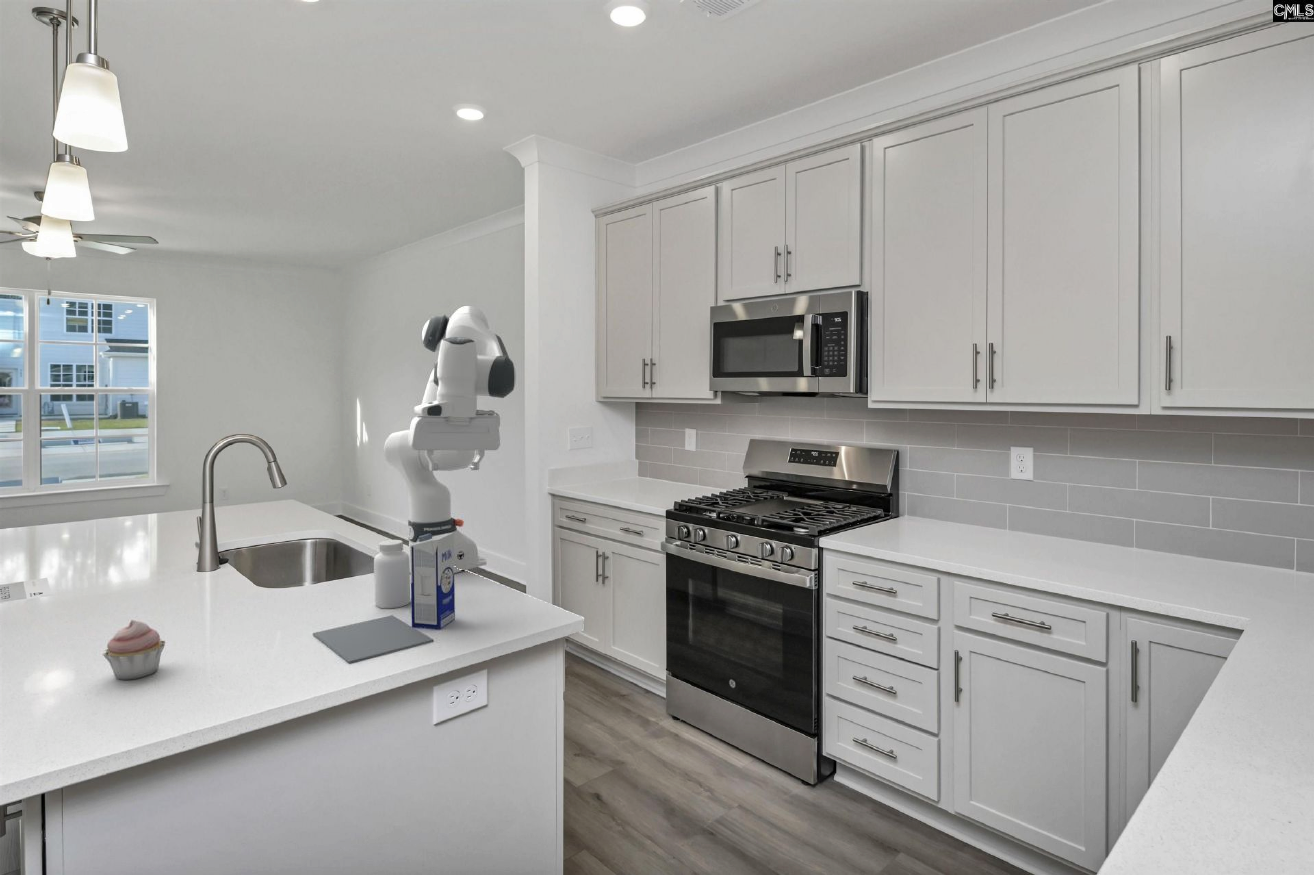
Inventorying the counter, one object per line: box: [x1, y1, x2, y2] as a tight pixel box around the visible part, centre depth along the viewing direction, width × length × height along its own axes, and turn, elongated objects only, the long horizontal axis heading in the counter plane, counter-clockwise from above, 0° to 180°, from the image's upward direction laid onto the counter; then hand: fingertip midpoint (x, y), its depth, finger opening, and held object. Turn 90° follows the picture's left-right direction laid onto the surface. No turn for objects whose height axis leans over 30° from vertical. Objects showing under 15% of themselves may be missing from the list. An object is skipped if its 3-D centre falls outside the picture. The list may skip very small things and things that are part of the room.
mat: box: [312, 614, 434, 664], centre depth 148 cm, size 17×20×1 cm
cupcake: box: [102, 619, 167, 681], centre depth 129 cm, size 9×9×10 cm
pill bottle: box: [373, 539, 411, 609], centre depth 170 cm, size 8×8×15 cm
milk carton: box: [410, 533, 456, 631], centre depth 156 cm, size 7×7×20 cm
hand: (454, 470), depth 162 cm, fingers open, 8 cm apart
